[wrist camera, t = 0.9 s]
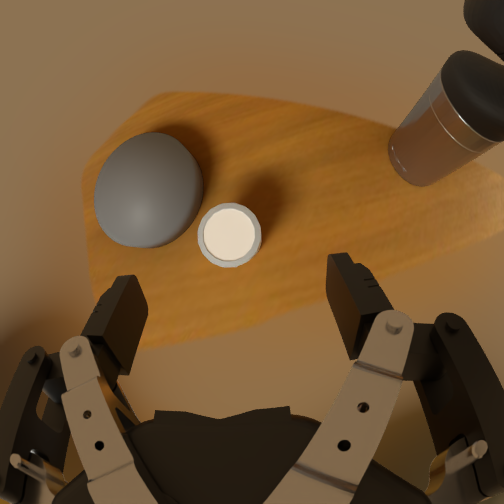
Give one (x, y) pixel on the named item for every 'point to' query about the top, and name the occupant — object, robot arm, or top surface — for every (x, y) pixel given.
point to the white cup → (229, 235)
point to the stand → (148, 191)
